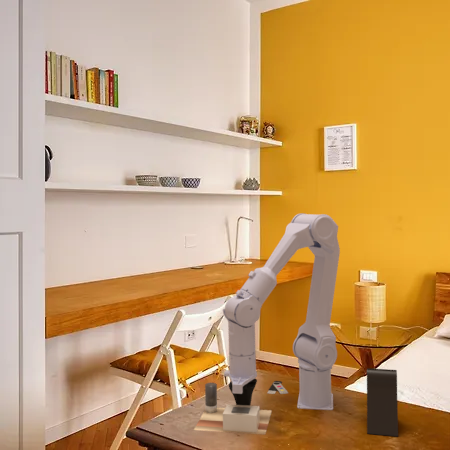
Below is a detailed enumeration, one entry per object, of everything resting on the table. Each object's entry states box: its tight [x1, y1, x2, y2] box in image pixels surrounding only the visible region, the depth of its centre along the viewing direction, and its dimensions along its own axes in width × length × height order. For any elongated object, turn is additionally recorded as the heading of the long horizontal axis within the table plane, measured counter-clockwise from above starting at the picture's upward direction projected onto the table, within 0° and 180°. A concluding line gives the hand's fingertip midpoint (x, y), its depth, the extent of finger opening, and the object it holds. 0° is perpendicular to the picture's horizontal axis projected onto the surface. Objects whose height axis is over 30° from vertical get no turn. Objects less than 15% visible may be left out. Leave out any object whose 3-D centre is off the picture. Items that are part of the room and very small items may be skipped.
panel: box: [193, 407, 273, 435], centre depth 115 cm, size 12×15×1 cm
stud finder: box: [223, 403, 261, 433], centre depth 112 cm, size 5×7×4 cm
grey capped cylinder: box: [204, 382, 218, 413], centre depth 120 cm, size 3×3×6 cm
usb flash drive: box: [266, 380, 289, 395], centre depth 133 cm, size 9×5×1 cm, turn 162°
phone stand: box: [366, 367, 399, 437], centre depth 111 cm, size 9×6×12 cm, turn 164°
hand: (243, 414), depth 116 cm, fingers closed
